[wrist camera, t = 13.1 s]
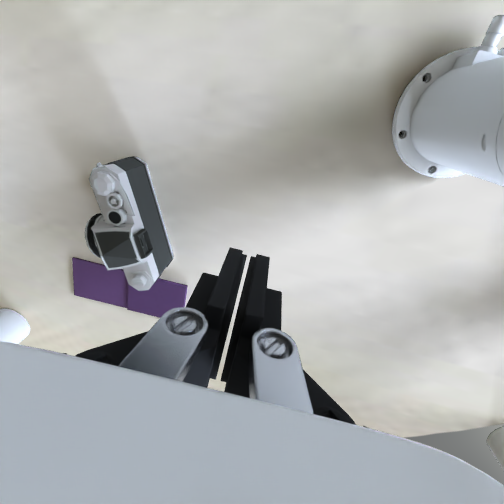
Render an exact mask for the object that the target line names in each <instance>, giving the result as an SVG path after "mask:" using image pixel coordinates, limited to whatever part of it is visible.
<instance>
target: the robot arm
mask: <svg viewBox="0 0 504 504" xmlns="http://www.w3.org/2000/svg"><path fill="white" fill-rule="evenodd" d="M503 35H504V15H498V16H495V17H494V18H493V19H492V22H491V24H490V26H489V28H488V30H487V32H486V36H485V38H484V40H483V42H482V44H481V46H479V47H472V48H465V49H460V50H457V51H454V52H451V53H449V54H446V55H444V56H442V57H440V58H438V59H436V60H435V61H433V62H432V63H430V64H429V65H427V66H426V67H425V68H424V69H423V70H421V71H420V72H419V73H418V74H417V75H416V76H415V77H414V78H413V80H412V81H411V82H410V83H409V85H408V86H407V87H406V89H405V91H404V92H403V94H402V96H401V97H400V100H399V102H398V105H397V107H396V110H395V114H394V118H393V128H392V135H393V141H394V145H395V148H396V150H397V153H398V155H399V156H400V158H401V159H402V161H403V162H404V163H405V164H406V165H407V166H409V167H410V168H411V169H413V170H415V171H416V172H418V173H420V174H423V175H425V176H430V177H435V178H450V177H456V176H460V175H463V174H469V175H472V176H474V177H477V178H480V179H483V180H486V181H489V182H492V183H495V184H498V185H501V186H504V48H501V49H500V51H498V49H496V47H497V45H498V43H499V41H500V39H501V37H502V36H503ZM423 76H425V77H426V79H425V81H423V80H422V78H423ZM400 132H402V135H401V136H399V133H400ZM430 167H431V169H430V170H429V171H428V169H429V168H430ZM242 252H243V251H242V250H238V249H234V248H230V249H229V251H228V254H227V256H226V259H225V261H224V264H223V266H222V269H221V271H220V274H219V276H215V275H211V274H207V273H203V274H202V276H201V278H200V280H199V282H198V283H197V285H196V287H195V289H194V291H193V293H192V295H191V297H190V299H189V301H188V303H187V305H186V307H179V308H174V309H171V310H169V311H167V312H166V313H165V314H163V316H162V317H161V318H160V319H159V320H158V321H157V322H156V324H155V325H154V326H153V327H152V328H151V329H150V330H149V331H148V332H145V333H141V334H138V335H135V336H132V337H129V338H125V339H122V340H119V341H116V342H113V343H109V344H106V345H103V346H100V347H96V348H93V349H90V350H87V351H84V352H82V353H80V354H77V355H76V356H71V355H67V353H58V352H54V351H49V350H44V349H39V348H34V347H29V346H24V345H19V344H14V343H9V342H2V341H0V504H504V486H503V485H502V484H501V483H499V482H498V481H496V480H495V479H493V478H492V477H491V476H489V475H487V474H486V473H484V472H482V471H481V470H479V469H477V468H475V467H474V466H472V465H470V464H469V463H467V462H465V461H463V460H461V459H459V458H457V457H455V456H452V455H450V454H448V453H446V452H444V451H441V450H439V449H436V448H433V447H430V446H428V445H425V444H422V443H419V442H416V441H412V440H409V439H405V438H402V437H399V436H395V435H392V434H388V433H385V432H381V431H378V430H374V429H370V428H367V427H365V426H363V427H362V426H358V425H356V424H355V423H354V421H353V420H352V419H351V417H350V416H349V415H348V414H347V413H346V412H345V411H344V410H343V409H342V408H341V407H340V406H339V405H338V404H337V403H336V402H335V401H334V400H333V399H332V398H331V397H330V396H329V395H328V394H327V393H326V392H325V391H324V390H323V389H322V388H321V387H320V386H319V385H318V384H317V383H316V382H315V381H314V380H313V379H312V378H311V377H310V376H309V375H308V374H307V373H306V372H305V371H304V370H303V369H302V364H301V360H300V356H299V352H298V348H297V346H296V343H295V341H294V340H293V339H292V338H291V337H290V336H289V335H288V334H286V333H285V332H282V331H281V304H282V293H281V292H280V291H276V290H272V289H268V288H267V279H268V269H269V259H270V257H266V256H262V255H258V254H257V255H256V257H252V256H251V258H250V262H249V266H248V270H247V274H246V278H245V282H244V286H243V290H242V294H241V298H240V302H239V306H238V310H237V314H236V318H235V322H234V326H233V330H232V335H231V339H230V343H229V347H228V352H227V356H226V360H225V364H224V369H223V373H222V377H221V381H224V382H226V387H225V391H224V392H222V391H218V390H214V389H210V388H207V386H208V383H209V379H210V378H212V379H216V376H217V372H218V369H219V365H220V361H221V357H222V353H223V349H224V345H225V341H226V337H227V333H228V329H229V326H230V322H231V318H232V314H233V310H234V306H235V302H236V298H237V294H238V290H239V285H240V281H241V277H242V273H243V269H244V265H245V261H246V257H247V255H244V254H242Z"/></svg>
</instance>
